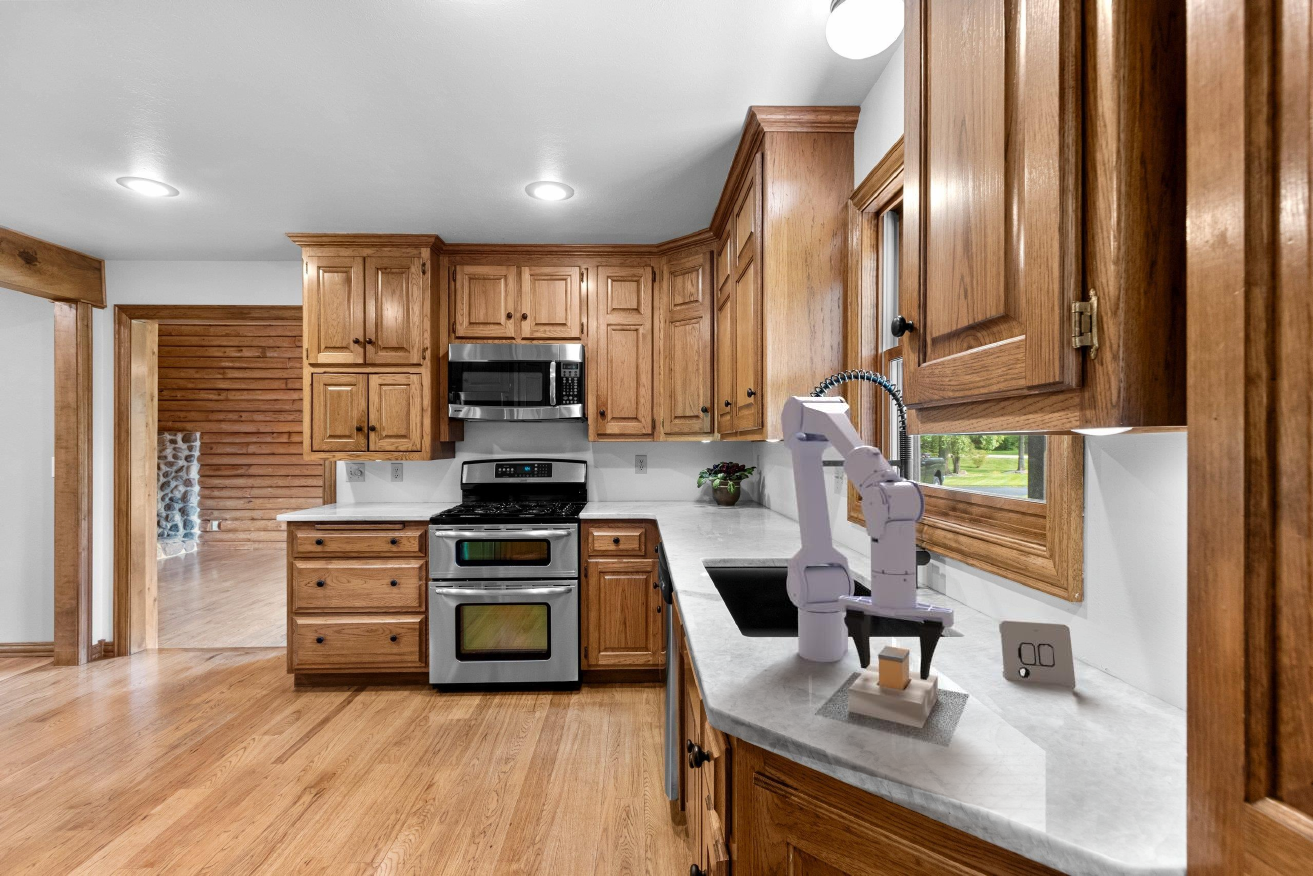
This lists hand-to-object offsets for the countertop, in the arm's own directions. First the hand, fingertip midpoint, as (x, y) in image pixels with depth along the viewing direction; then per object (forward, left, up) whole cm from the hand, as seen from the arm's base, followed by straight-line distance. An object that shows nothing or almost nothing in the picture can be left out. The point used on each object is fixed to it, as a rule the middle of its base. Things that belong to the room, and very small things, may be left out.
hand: (894, 671), depth 84 cm
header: (0, 0, -5) cm, 5 cm away
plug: (0, 0, -4) cm, 4 cm away
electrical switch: (-22, +15, -6) cm, 27 cm away
